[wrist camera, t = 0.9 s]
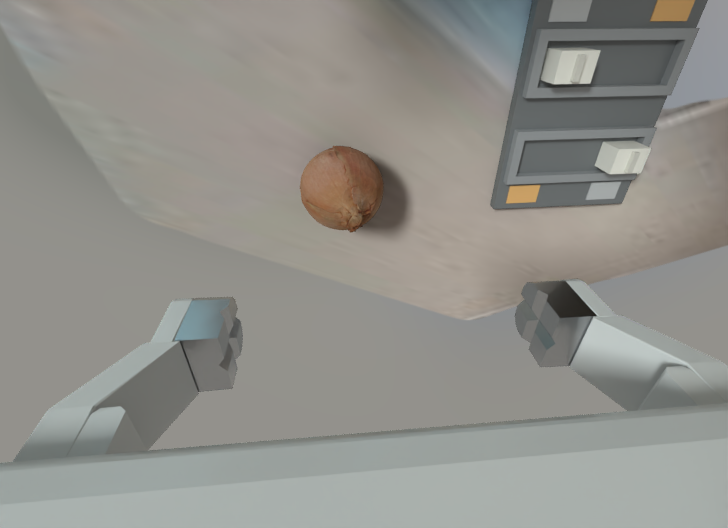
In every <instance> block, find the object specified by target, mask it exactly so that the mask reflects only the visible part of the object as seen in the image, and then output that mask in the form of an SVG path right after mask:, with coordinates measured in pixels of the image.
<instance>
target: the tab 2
mask: <svg viewBox="0 0 728 528" xmlns="http://www.w3.org/2000/svg"><path fill="white" fill-rule="evenodd" d="M651 149H652V148H650V147H648V146H645V145H643V144H641V143H638V142H636V141H607V142H603V143H602V146H601V149H600V152H599V154H598V157H597V160H596V163H595V166H596V167H598V168H599V169H601V170H603V171H605V172H606V173H608V174H632V173H641V172H642V169H643V167H644V165H645V162H646V160H647V158H648V156H649V153H650V151H651Z"/></svg>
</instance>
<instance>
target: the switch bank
mask: <svg viewBox="0 0 728 528" xmlns="http://www.w3.org/2000/svg"><path fill="white" fill-rule="evenodd" d="M707 1H708V0H533V1H532V6H531V10H530V15H529V20H528V25H527V30H526V35H525V39H524V44H523V49H522V54H521V59H520V64H519V68H518V73H517V78H516V83H515V88H514V93H513V97H512V102H511V107H510V112H509V117H508V122H507V126H506V131H505V136H504V141H503V146H502V151H501V155H500V160H499V165H498V170H497V175H496V180H495V184H494V189H493V194H492V199H491V204H490V205H491V207H492V208H493V209H505V208H527V207H549V206H571V205H593V204H615V203H622V202H623V199H624V197H625V195H626V192H627V190H628V187H629V185H630V183H631V180H634V179H635V178H636V176H637V173H632V174H608V173H606V172H605V171H603V170H601V169H599V168H598V167H596V166H595V163H596V160H597V157H598V154H599V152H600V149H601V146H602V143H603V142H607V141H636V142H638V143H641V144H643V145H645V146H648V147H649V145H650V143H651V140H652V138H653V136H654V133H655V131H656V129H657V128H656V127H654V126H655V124H656V121H657V119H658V116H659V114H660V112H661V109H662V107H663V105H664V102H665V100H666V98H667V95H671V93H672V91H673V89H674V87H675V84H676V82H677V80H678V77H679V75H680V73H681V70H682V68H683V66H684V63H685V61H686V59H687V56H688V54H689V52H690V49H691V47H692V45H693V42H694V40H695V37H696V35H697V33H698V30H699V28H696V27H697V24H698V22H699V19H700V17H701V15H702V12H703V10H704V8H705V5H706V3H707ZM547 48H589V49H596V50H601V51H600V54H599V57H598V61H597V64H596V67H595V70H594V74H593V77H592V80H591V83H590V84H551V83H548V82H545V81H542V80H539V79H540V75H541V70H542V66H543V62H544V58H545V54H546V49H547Z"/></svg>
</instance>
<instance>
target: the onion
mask: <svg viewBox="0 0 728 528" xmlns="http://www.w3.org/2000/svg"><path fill="white" fill-rule="evenodd" d="M300 189H301V197H302V202H303V204H304V206H305V208H306V209H307V211H308V212H309V214H310V215H311V216H312V217H313V218H314V219H315V220H316V221H317V222H319V223H320V224H322V225H324V226H326V227H329V228H332V229H337V230H348V231H349V230H350V232H353V231H355V232H356V229H358V228H359V227H362V225H363V224H365V223H367V222H368V221H369V220H370V219H371V218H372V217H373V216H374V215H375V213H376V212H377V210H378V209H379V207H380V204H381V201H382V197H383V180H382V176H381V174H380V171H379V169H378V167H377V166H376V164H375V163H374V162H373V161H372V160H371V159H370V158H369V157H368V156H367V155H366V154H364V153H363V152H361V151H359V150H356V149H353V148H351V147H345V146H333V148H330V149H327V150H325V151H323V152H321V153H319V154H318V155H316V156H315V157H314V158H313V159H312V160H311V161H310V162H309V163H308V164H307V166H306V167H305V169H304V171H303V174H302V177H301V184H300Z"/></svg>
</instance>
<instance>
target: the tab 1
mask: <svg viewBox="0 0 728 528" xmlns="http://www.w3.org/2000/svg"><path fill="white" fill-rule="evenodd" d="M600 51H601V50H596V49H589V48H547V49H546V54H545V58H544V62H543V66H542V70H541V75H540V79H539V80H542V81H545V82H548V83H551V84H590V83H591V80H592V77H593V74H594V70H595V67H596V64H597V61H598V57H599V54H600Z"/></svg>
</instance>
